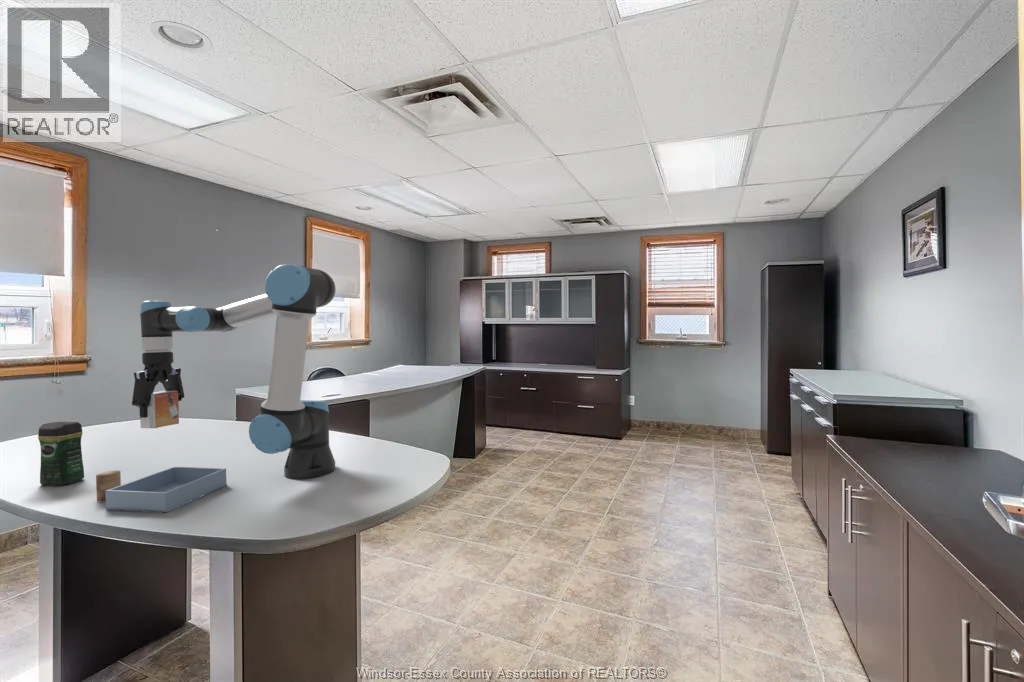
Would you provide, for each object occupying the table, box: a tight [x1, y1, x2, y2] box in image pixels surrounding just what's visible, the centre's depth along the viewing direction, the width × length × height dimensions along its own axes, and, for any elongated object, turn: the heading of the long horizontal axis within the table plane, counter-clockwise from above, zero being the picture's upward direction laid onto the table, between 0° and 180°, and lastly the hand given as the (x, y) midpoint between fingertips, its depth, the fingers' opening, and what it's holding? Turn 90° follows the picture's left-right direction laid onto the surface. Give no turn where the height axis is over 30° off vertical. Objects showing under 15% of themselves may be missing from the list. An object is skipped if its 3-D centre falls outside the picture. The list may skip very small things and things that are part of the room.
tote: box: [105, 466, 228, 513], centre depth 125 cm, size 17×20×5 cm
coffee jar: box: [37, 421, 85, 487], centre depth 137 cm, size 10×8×19 cm
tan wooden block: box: [95, 469, 122, 502], centre depth 124 cm, size 5×5×7 cm
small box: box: [139, 390, 180, 429], centre depth 139 cm, size 8×6×10 cm
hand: (160, 424), depth 139 cm, fingers closed on small box, 8 cm apart
